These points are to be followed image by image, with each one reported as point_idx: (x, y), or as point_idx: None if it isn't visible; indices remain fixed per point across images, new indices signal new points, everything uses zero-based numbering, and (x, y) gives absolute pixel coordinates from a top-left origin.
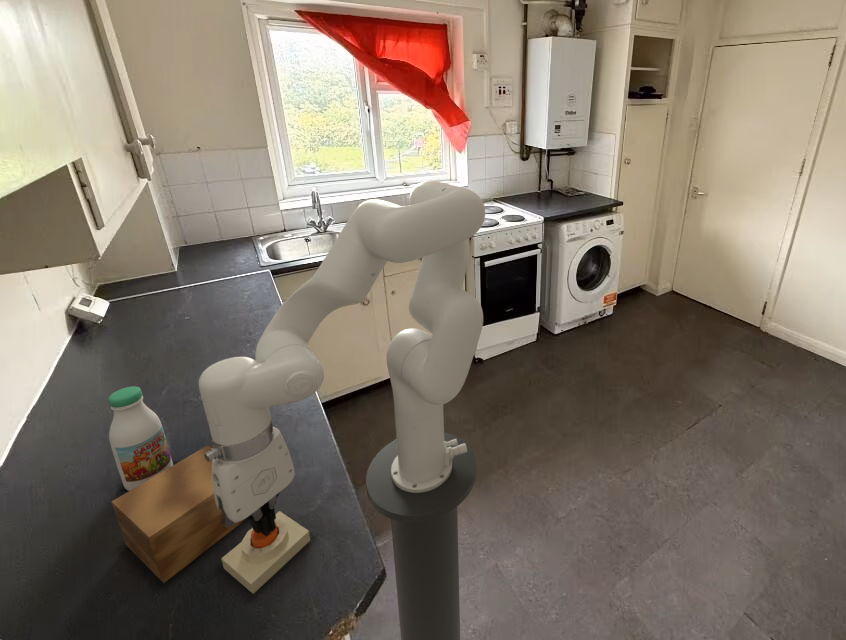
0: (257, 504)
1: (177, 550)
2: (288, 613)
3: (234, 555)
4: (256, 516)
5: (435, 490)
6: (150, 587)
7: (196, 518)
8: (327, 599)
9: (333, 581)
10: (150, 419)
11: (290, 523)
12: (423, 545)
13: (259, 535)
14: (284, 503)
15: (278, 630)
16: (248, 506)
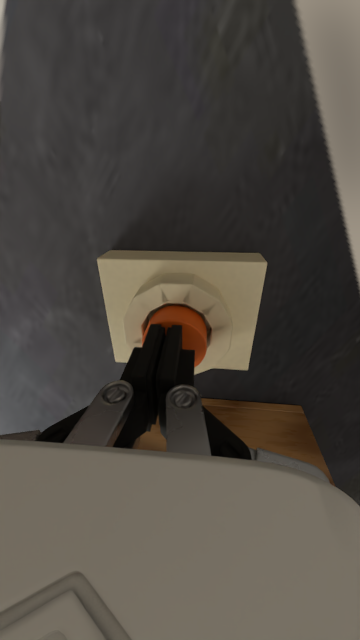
0: (191, 510)
1: (283, 444)
2: (263, 108)
3: (231, 354)
4: (189, 405)
5: None
6: (312, 414)
7: None
8: (181, 11)
9: (135, 59)
10: None
11: (116, 317)
12: None
13: (190, 344)
14: (101, 368)
15: (311, 86)
16: (273, 586)
